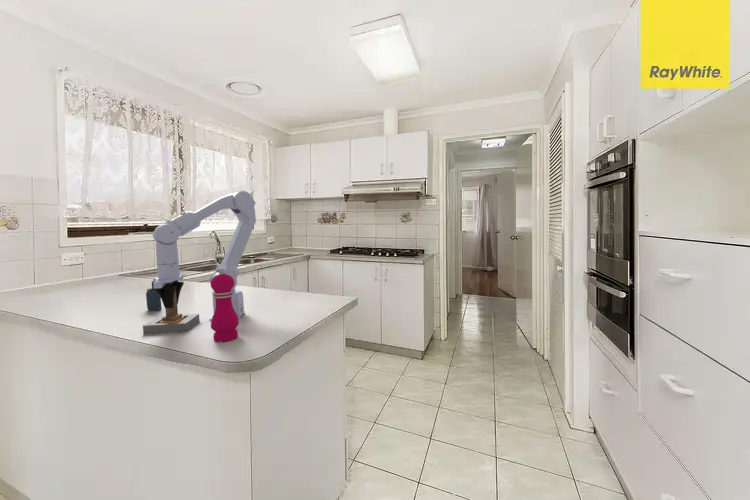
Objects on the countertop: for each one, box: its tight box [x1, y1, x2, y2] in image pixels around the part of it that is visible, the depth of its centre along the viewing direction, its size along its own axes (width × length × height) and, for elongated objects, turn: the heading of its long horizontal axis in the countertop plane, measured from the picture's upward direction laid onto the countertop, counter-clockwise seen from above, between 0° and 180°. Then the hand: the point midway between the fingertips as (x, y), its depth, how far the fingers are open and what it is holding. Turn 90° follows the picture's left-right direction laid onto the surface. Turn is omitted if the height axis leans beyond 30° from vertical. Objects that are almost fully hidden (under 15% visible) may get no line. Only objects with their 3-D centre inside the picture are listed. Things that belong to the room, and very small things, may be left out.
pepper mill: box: [210, 269, 240, 343], centre depth 91 cm, size 7×7×20 cm
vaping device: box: [145, 278, 163, 312], centre depth 122 cm, size 3×5×12 cm, turn 79°
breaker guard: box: [142, 313, 201, 335], centre depth 102 cm, size 12×10×2 cm
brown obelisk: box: [162, 290, 183, 322], centre depth 102 cm, size 4×4×10 cm
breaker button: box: [160, 316, 185, 323], centre depth 102 cm, size 5×5×2 cm
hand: (171, 306), depth 102 cm, fingers closed on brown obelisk, 2 cm apart
